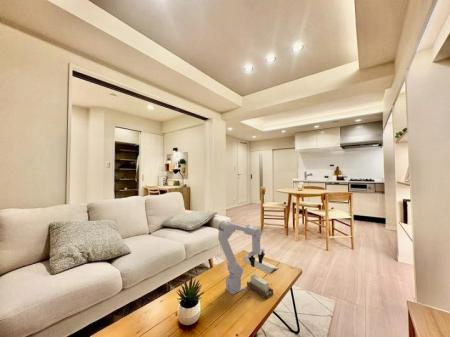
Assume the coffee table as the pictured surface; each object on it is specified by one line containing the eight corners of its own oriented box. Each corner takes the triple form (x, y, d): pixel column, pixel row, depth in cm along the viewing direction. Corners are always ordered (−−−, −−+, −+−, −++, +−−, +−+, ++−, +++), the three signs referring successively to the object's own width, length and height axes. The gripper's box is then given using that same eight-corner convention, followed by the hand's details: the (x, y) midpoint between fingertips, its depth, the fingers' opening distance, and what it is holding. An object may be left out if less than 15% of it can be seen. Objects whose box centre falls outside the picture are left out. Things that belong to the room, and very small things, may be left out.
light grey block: (265, 294, 115) (264, 284, 115) (251, 285, 124) (250, 276, 124) (268, 292, 117) (268, 282, 117) (254, 283, 126) (254, 274, 126)
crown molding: (278, 269, 146) (278, 264, 147) (269, 274, 139) (268, 269, 139) (251, 256, 169) (251, 252, 169) (241, 261, 161) (241, 256, 161)
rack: (265, 298, 112) (265, 294, 112) (247, 286, 125) (246, 282, 125) (273, 294, 116) (273, 289, 116) (254, 282, 129) (254, 278, 129)
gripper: (253, 249, 125) (253, 270, 124) (267, 244, 133) (267, 263, 133) (245, 246, 130) (246, 266, 130) (259, 241, 139) (260, 260, 139)
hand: (256, 264), depth 132 cm, fingers open, 7 cm apart
